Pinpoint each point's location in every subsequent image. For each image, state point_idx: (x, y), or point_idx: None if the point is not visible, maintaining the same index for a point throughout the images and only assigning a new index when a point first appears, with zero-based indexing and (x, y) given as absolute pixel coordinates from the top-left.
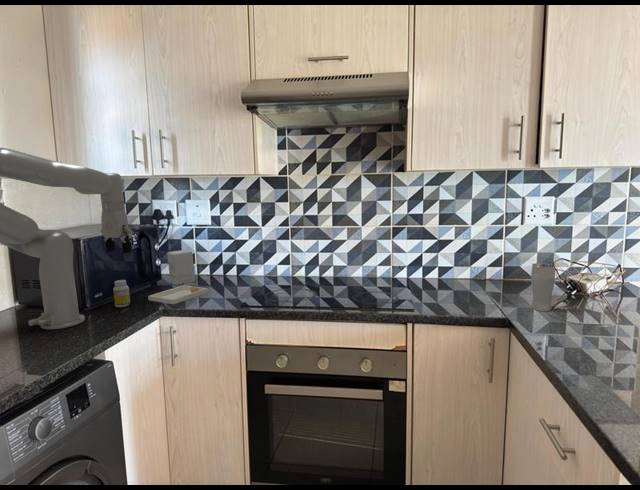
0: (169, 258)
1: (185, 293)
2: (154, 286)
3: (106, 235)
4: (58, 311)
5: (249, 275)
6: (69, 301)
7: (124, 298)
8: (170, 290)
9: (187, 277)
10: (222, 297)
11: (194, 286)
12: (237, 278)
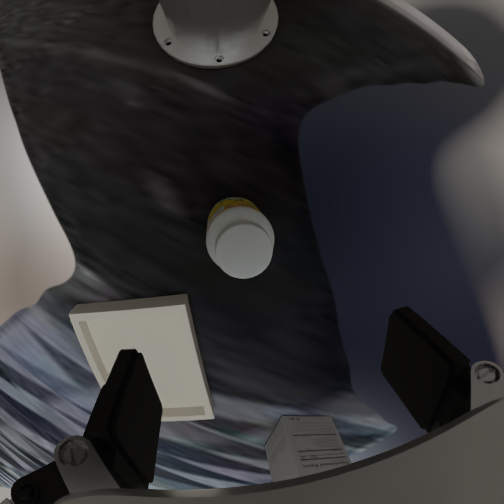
0: None
1: (160, 388)
2: (346, 383)
3: (459, 450)
4: None
5: None
6: None
7: (207, 225)
8: (194, 377)
9: (274, 449)
10: (71, 400)
11: None
12: (206, 485)
